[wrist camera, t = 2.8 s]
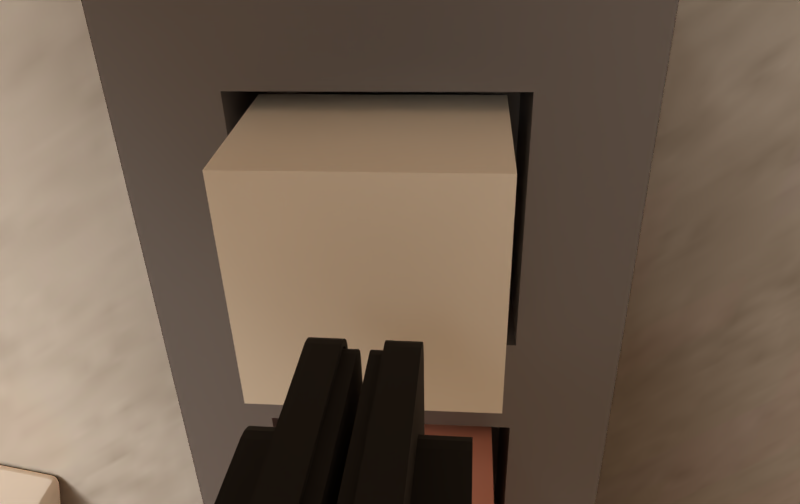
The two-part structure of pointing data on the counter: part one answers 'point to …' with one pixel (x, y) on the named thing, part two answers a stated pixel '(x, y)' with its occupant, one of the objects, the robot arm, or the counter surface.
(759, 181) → the counter surface
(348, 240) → the off-white key
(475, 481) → the terracotta key
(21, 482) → the medicine bottle
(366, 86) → the key panel
